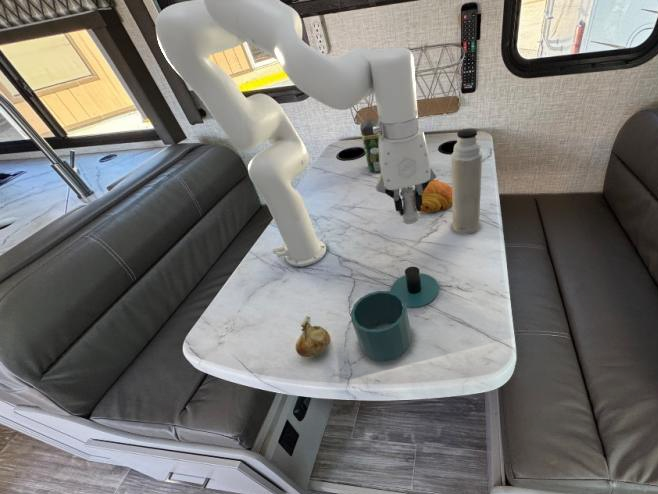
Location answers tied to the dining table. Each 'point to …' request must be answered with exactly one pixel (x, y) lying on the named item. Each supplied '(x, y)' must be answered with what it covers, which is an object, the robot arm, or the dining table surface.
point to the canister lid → (416, 288)
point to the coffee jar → (371, 144)
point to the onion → (312, 340)
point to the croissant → (436, 197)
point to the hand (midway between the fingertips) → (409, 210)
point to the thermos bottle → (466, 181)
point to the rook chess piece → (409, 206)
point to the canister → (381, 311)
